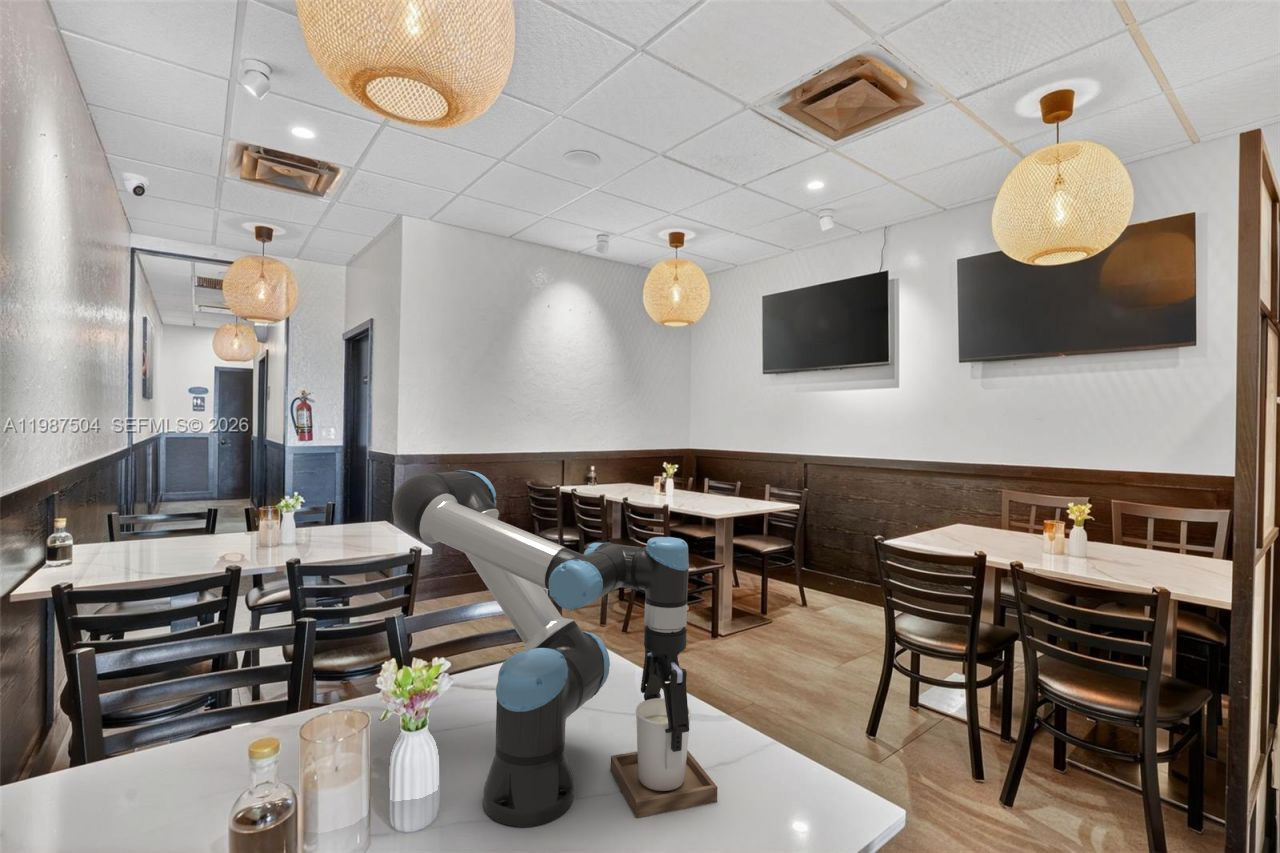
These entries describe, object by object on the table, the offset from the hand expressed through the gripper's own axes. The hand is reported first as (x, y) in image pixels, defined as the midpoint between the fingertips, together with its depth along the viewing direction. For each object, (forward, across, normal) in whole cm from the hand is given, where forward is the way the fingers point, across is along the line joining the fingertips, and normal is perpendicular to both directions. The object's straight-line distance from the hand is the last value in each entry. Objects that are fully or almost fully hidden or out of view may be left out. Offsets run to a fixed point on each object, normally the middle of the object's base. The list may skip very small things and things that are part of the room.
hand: (662, 751), depth 107 cm
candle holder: (+5, 0, 0) cm, 5 cm away
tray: (+6, 0, 0) cm, 6 cm away
